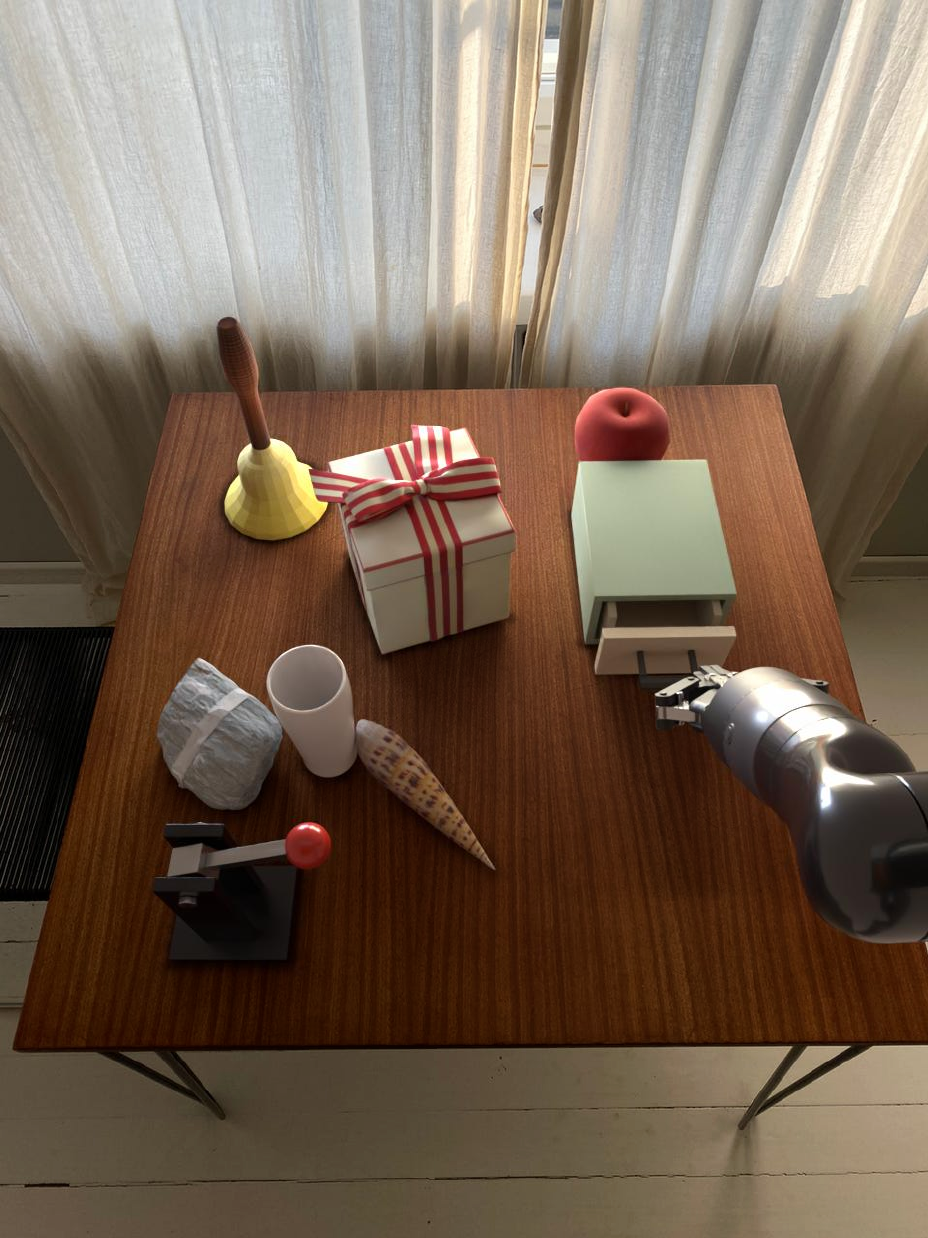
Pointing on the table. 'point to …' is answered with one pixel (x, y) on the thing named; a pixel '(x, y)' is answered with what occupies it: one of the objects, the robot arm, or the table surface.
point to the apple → (621, 427)
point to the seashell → (413, 783)
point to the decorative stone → (217, 738)
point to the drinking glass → (315, 707)
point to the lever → (253, 854)
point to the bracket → (228, 906)
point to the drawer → (661, 639)
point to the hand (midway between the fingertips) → (707, 677)
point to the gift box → (424, 535)
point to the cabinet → (648, 536)
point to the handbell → (262, 456)
